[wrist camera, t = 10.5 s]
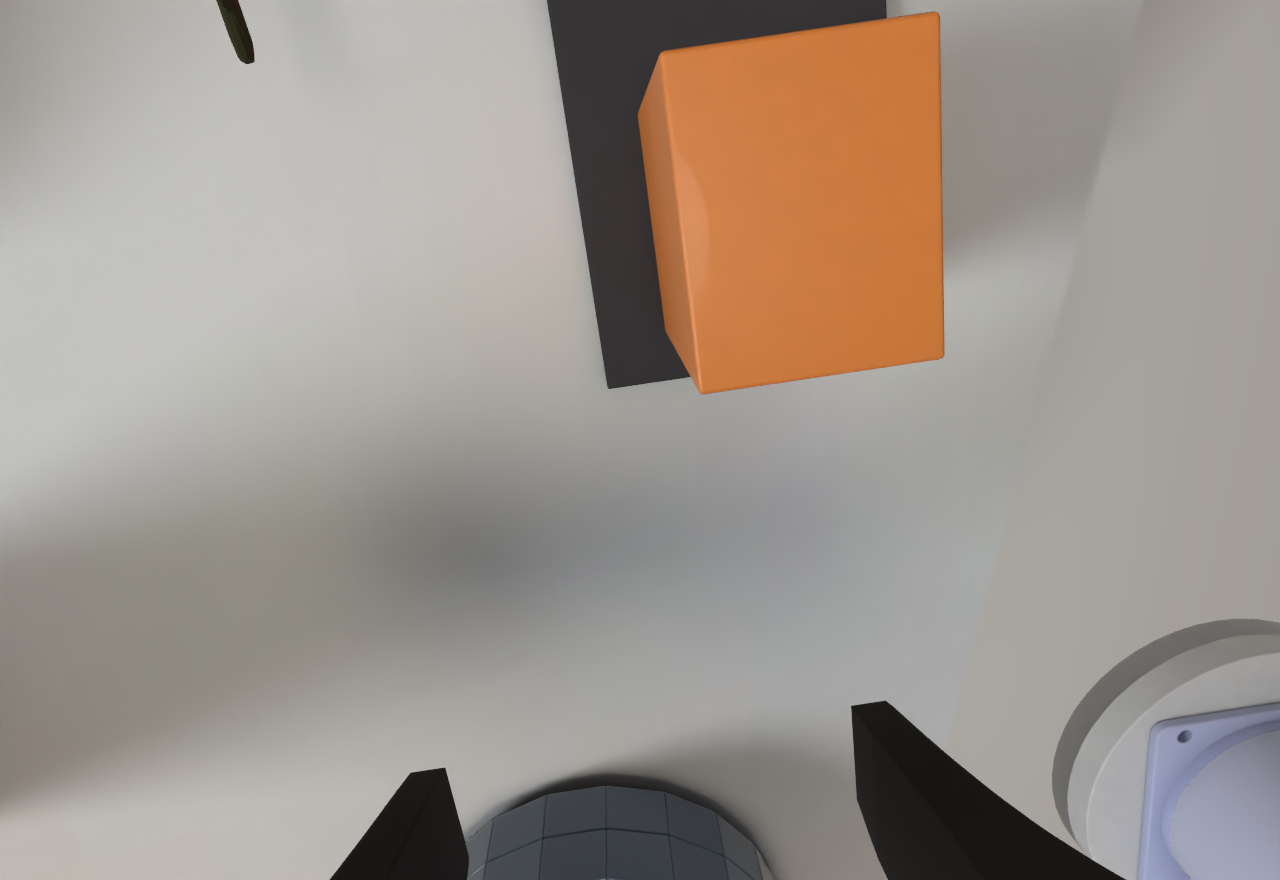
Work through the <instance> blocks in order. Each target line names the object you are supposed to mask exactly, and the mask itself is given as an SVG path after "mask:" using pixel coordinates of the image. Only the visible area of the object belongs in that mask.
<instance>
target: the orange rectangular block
mask: <svg viewBox="0 0 1280 880" xmlns="http://www.w3.org/2000/svg"><path fill="white" fill-rule="evenodd" d="M638 122H639V130H640V138H641V145H642V153H643V161H644V169H645V176H646V184H647V192H648V200H649V207H650V215H651V223H652V231H653V239H654V246H655V254H656V262H657V270H658V277H659V285H660V293H661V301H662V308H663V316H664V324H665V331H666V333H667V335H668V336H669V338H670V340H671V342H672V344H673V345H674V347H675V349H676V351H677V353H678V354H679V356H680V358H681V360H682V362H683V363H684V365H685V367H686V369H687V371H688V372H689V374H690V376H691V378H692V380H693V381H694V383H695V385H696V387H697V389H698V390H699V392H700V393H701V394H708V393H715V392H722V391H729V390H735V389H742V388H749V387H756V386H762V385H769V384H776V383H783V382H789V381H796V380H803V379H810V378H816V377H823V376H830V375H837V374H843V373H850V372H857V371H864V370H870V369H877V368H884V367H891V366H897V365H904V364H911V363H918V362H924V361H931V360H938V359H941V358H943V357H944V290H943V215H942V140H941V65H940V16H939V13H937V12H927V13H920V14H913V15H906V16H899V17H893V18H886V19H879V20H872V21H865V22H858V23H851V24H844V25H837V26H830V27H823V28H816V29H809V30H802V31H796V32H789V33H782V34H775V35H768V36H761V37H754V38H747V39H740V40H733V41H726V42H719V43H712V44H705V45H699V46H692V47H685V48H678V49H671V50H664V51H663V52H661V53H660V55H659V57H658V60H657V63H656V66H655V68H654V71H653V74H652V76H651V79H650V82H649V85H648V87H647V90H646V93H645V95H644V98H643V101H642V103H641V106H640V109H639V112H638Z"/></svg>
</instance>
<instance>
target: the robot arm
mask: <svg viewBox="0 0 1280 880" xmlns="http://www.w3.org/2000/svg"><path fill="white" fill-rule="evenodd" d="M851 709H852V726H853V742H854V758H855V775H856V791H857V801H858V804H859V806H860V809H861V812H862V815H863V818H864V821H865V824H866V827H867V829H868V832H869V835H870V838H871V841H872V843H873V846H874V849H875V851H876V854H877V857H878V859H879V861H880V864H881V866H882V868H883V870H884V872H885V874H886V876H887V878H888V880H1126V879H1124V878H1122V877H1120V876H1118V875H1117V874H1115V873H1113V872H1112V871H1110V870H1108V869H1106V868H1105V867H1103V866H1101V865H1100V864H1098V863H1096V862H1095V861H1093V860H1091V859H1090V858H1088V857H1087V856H1085V855H1083V854H1082V853H1080V852H1079V851H1077V850H1075V849H1074V848H1072V847H1071V846H1069V845H1068V844H1066V843H1065V842H1063V841H1061V840H1060V839H1058V838H1057V837H1055V836H1053V835H1052V834H1051V833H1049V832H1047V831H1046V830H1044V829H1043V828H1042V827H1040V826H1039V825H1037V824H1036V823H1035V822H1033V821H1032V820H1030V819H1029V818H1028V817H1026V816H1025V815H1024V814H1022V813H1021V812H1019V811H1018V810H1017V809H1015V808H1014V807H1013V806H1011V805H1010V804H1009V803H1007V802H1006V801H1004V800H1003V799H1002V798H1001V797H999V796H998V795H997V794H995V793H994V792H993V791H991V790H990V789H989V788H988V787H986V786H985V785H984V784H983V783H981V782H980V781H979V780H978V779H976V778H975V777H974V776H973V775H972V774H970V773H969V772H968V771H967V770H965V769H964V768H963V767H962V766H960V765H959V764H958V763H957V762H956V761H954V760H953V759H952V758H951V757H950V756H948V755H947V754H946V753H945V752H944V751H943V750H941V749H940V748H939V747H938V746H937V745H936V744H934V743H933V742H932V741H931V740H930V739H929V738H928V737H926V736H925V735H924V734H923V733H922V732H921V731H920V730H919V729H917V728H916V727H915V726H914V725H913V724H912V723H911V722H910V721H909V720H907V719H906V718H905V717H904V716H903V715H902V714H901V713H900V712H899V711H897V710H896V709H895V708H894V707H893V706H892V705H890V704H889V703H888V702H887V701H881V702H874V703H867V704H861V705H854V706H851ZM468 868H469V855H468V851H467V847H466V844H465V840H464V836H463V832H462V829H461V825H460V821H459V818H458V814H457V810H456V806H455V803H454V799H453V795H452V792H451V788H450V784H449V780H448V777H447V773H446V769H445V768H439V769H433V770H426V771H420V772H413V773H410V774H409V776H408V777H407V778H406V780H405V781H404V782H403V783H402V785H401V786H400V787H399V789H398V790H397V791H396V793H395V794H394V795H393V797H392V798H391V799H390V801H389V802H388V803H387V805H386V806H385V808H384V809H383V810H382V812H381V813H380V814H379V816H378V817H377V818H376V820H375V821H374V822H373V824H372V825H371V826H370V828H369V829H368V831H367V832H366V833H365V835H364V836H363V837H362V839H361V840H360V841H359V843H358V844H357V845H356V846H355V848H354V849H353V850H352V852H351V853H350V854H349V855H348V857H347V858H346V859H345V861H344V862H343V863H342V865H341V866H340V867H339V868H338V870H337V871H336V872H335V874H334V875H333V876H332V877H331V879H330V880H467V878H468ZM1137 880H1280V703H1275V704H1268V705H1262V706H1255V707H1249V708H1242V709H1236V710H1229V711H1222V712H1216V713H1209V714H1203V715H1196V716H1190V717H1183V718H1177V719H1170V720H1164V721H1161V722H1158V723H1157V724H1155V725H1154V726H1153V727H1152V729H1151V732H1150V737H1149V749H1148V760H1147V772H1146V784H1145V795H1144V807H1143V818H1142V830H1141V841H1140V853H1139V864H1138V876H1137Z"/></svg>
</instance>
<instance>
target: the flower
mask: <svg viewBox="0 0 1280 880" xmlns="http://www.w3.org/2000/svg"><path fill="white" fill-rule="evenodd" d="M217 3H218V6H219V9H220V12H221V14H222V17H223V20H224V23H225V26H226V29H227V32H228V34H229V37H230V39H231V42H232V44H233V46H234V49H235V51H236V54H237V56H238V58H239V59H240V61H242V62H244V63H246V64H250V63H253V62H254V49H253V42H252V39H251V36H250V33H249V31H248V28H247V25H246V22H245V19H244V16H243V13H242V10H241V7H240V4H239V2H238V0H217Z"/></svg>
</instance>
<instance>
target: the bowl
mask: <svg viewBox="0 0 1280 880" xmlns="http://www.w3.org/2000/svg"><path fill="white" fill-rule="evenodd" d="M465 844H466V847H467V851H468V855H469V868H468V878H467V880H774V878H773V876H772V874H771V873H770V871H769V869H768V867H767V866H766V864H765V862H764V860H763V858H762V857H761V855H760V853H759V851H758V850H757V848H756V846H755V845H754V844H753V843H752V842H751V841H750V840H749V839H747V838H746V837H745V836H744V835H742V834H741V833H740V832H739V831H738V830H736V829H735V828H734V827H733V826H732V825H730V824H729V823H728V822H727V821H726V820H724V819H723V818H722V817H721V816H719V815H718V814H717V813H715V812H714V811H713V810H710V809H708V808H705V807H702V806H700V805H697V804H695V803H692V802H690V801H687V800H685V799H682V798H680V797H677V796H675V795H672V794H670V793H667V792H663V791H656V790H647V789H637V788H628V787H618V786H609V785H607V786H598V787H591V788H585V789H578V790H572V791H565V792H559V793H552V794H548V795H544V796H542V797H540V798H538V799H535V800H533V801H531V802H528V803H526V804H524V805H522V806H519V807H517V808H515V809H513V810H510V811H508V812H506V813H503V814H501V815H499V816H497V817H495V818H494V819H492V820H491V821H490V822H489V823H487V824H486V825H485V826H484V827H483V828H482V829H480V830H479V831H478V832H477V833H476V834H475V835H473V836H472V837H471V838H470V839H469V840H468V841H466V842H465Z"/></svg>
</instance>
